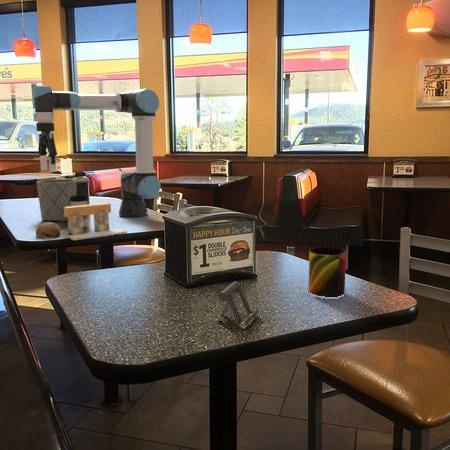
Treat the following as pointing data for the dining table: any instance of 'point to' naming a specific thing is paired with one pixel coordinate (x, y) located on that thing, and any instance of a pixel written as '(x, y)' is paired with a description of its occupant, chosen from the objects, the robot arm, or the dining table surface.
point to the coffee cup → (80, 200)
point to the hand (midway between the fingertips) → (48, 170)
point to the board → (96, 234)
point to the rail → (86, 209)
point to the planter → (55, 197)
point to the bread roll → (47, 230)
